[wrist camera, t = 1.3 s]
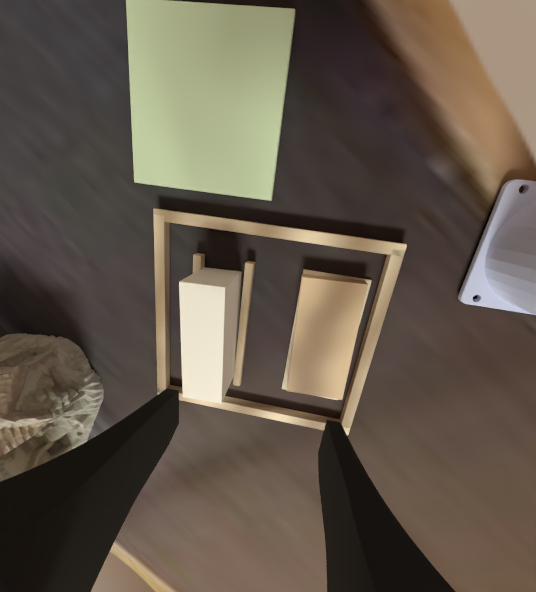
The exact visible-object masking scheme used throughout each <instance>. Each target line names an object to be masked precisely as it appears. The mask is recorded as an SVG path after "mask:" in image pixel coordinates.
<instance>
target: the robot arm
mask: <svg viewBox="0 0 536 592" xmlns="http://www.w3.org/2000/svg"><path fill="white" fill-rule="evenodd" d="M521 186H523V187H524V189H523V191H522V193H519V188H520V187H521ZM475 295H477V298H476V299H475V300H472V299H473V297H474V296H475ZM458 298H459V300H460V301H461V302H463V303H465V304H471V305H477V306H483V307H489V308H496V309H502V310H508V311H515V312H521V313H527V314H533V315H536V181H530V180H521V179H514V180H509V181H507V182H506V183H505V184H504V185H503V186H502V188H501V191H500V193H499V196H498V198H497V201H496V203H495V206H494V208H493V211H492V213H491V216H490V218H489V221H488V223H487V225H486V228H485V230H484V233H483V235H482V238H481V240H480V243H479V245H478V248H477V250H476V253H475V255H474V258H473V260H472V263H471V265H470V268H469V270H468V273H467V275H466V278H465V280H464V282H463V285H462V287H461V290H460V292H459V295H458ZM178 423H179V390H174V389H169V388H167V389H165V390H164V391H162V392H161V393H160V394H158V395H157V396H155V397H154V398H153V399H151V400H150V401H149V402H147V403H146V404H144V405H143V406H142V407H140V408H139V409H137V410H136V411H135V412H133V413H132V414H130V415H129V416H127V417H126V418H124V419H123V420H121V421H120V422H118V423H117V424H115V425H114V426H112V427H110V428H109V429H107V430H106V431H104V432H103V433H101V434H99V435H98V436H96V437H94V438H92V439H91V440H89V441H87V442H85V443H83V444H82V445H80V446H78V447H76V448H74V449H72V450H70V451H68V452H66V453H64V454H62V455H60V456H58V457H56V458H54V459H52V460H50V461H48V462H46V463H43V464H41V465H39V466H37V467H34V468H32V469H30V470H28V471H25V472H23V473H20V474H18V475H16V476H13V477H11V478H8V479H6V480H3V481H1V482H0V592H91V589H92V587H93V585H94V583H95V581H96V578H97V577H98V574H99V572H100V570H101V568H102V566H103V564H104V561H105V559H106V557H107V555H108V553H109V551H110V549H111V547H112V545H113V543H114V541H115V539H116V537H117V535H118V533H119V531H120V529H121V527H122V525H123V523H124V521H125V519H126V517H127V515H128V513H129V511H130V509H131V507H132V505H133V503H134V501H135V500H136V498H137V496H138V494H139V493H140V491H141V489H142V488H143V486H144V484H145V483H146V481H147V480H148V478H149V476H150V475H151V473H152V471H153V470H154V468H155V466H156V465H157V463H158V462H159V460H160V458H161V457H162V455H163V453H164V452H165V450H166V448H167V446H168V445H169V443H170V441H171V439H172V437H173V434H174V432H175V430H176V428H177V426H178ZM318 466H319V485H320V495H321V504H322V513H323V522H324V532H325V542H326V559H327V592H455V591H454V590H453V589H452V587H451V586H450V585H449V584H448V583H447V582H446V581H445V579H444V578H443V577H442V576H441V575H440V574H439V572H438V571H437V570H436V569H435V568H434V567H433V565H432V564H431V563H430V562H429V561H428V559H427V558H426V557H425V556H424V554H423V553H422V552H421V551H420V549H419V548H418V547H417V546H416V544H415V543H414V542H413V541H412V539H411V538H410V537H409V535H408V534H407V533H406V531H405V530H404V529H403V527H402V526H401V525H400V523H399V522H398V521H397V519H396V518H395V516H394V515H393V513H392V512H391V511H390V509H389V508H388V506H387V505H386V503H385V502H384V500H383V499H382V497H381V496H380V494H379V492H378V491H377V489H376V488H375V486H374V484H373V483H372V481H371V479H370V478H369V476H368V474H367V473H366V471H365V469H364V467H363V466H362V464H361V462H360V460H359V458H358V457H357V455H356V453H355V451H354V449H353V447H352V445H351V443H350V441H349V439H348V437H347V435H346V433H345V431H344V428H343V426H342V424H341V423H340V422H336V421H331V420H327V421H326V425H325V429H324V432H323V436H322V440H321V444H320V448H319V452H318Z"/></svg>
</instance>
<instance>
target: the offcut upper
mask: <svg viewBox="0 0 536 592" xmlns="http://www.w3.org/2000/svg"><path fill="white" fill-rule="evenodd" d="M367 287H368V284H367V283H366V281H363V280H354V279H345V278H336V277H327V276H318V275H310V274H302V278H301V286H300V293H299V301H298V308H297V316H296V323H295V331H294V339H293V346H292V354H291V361H290V369H289V376H288V384H287V391H290V392H297V393H303V394H309V395H315V396H322V397H328V398H334V399H340V400H342V398H343V394H344V389H345V385H346V381H347V376H348V372H349V367H350V363H351V358H352V354H353V350H354V345H355V341H356V336H357V332H358V327H359V323H360V318H361V314H362V310H363V305H364V301H365V296H366V292H367Z"/></svg>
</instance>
